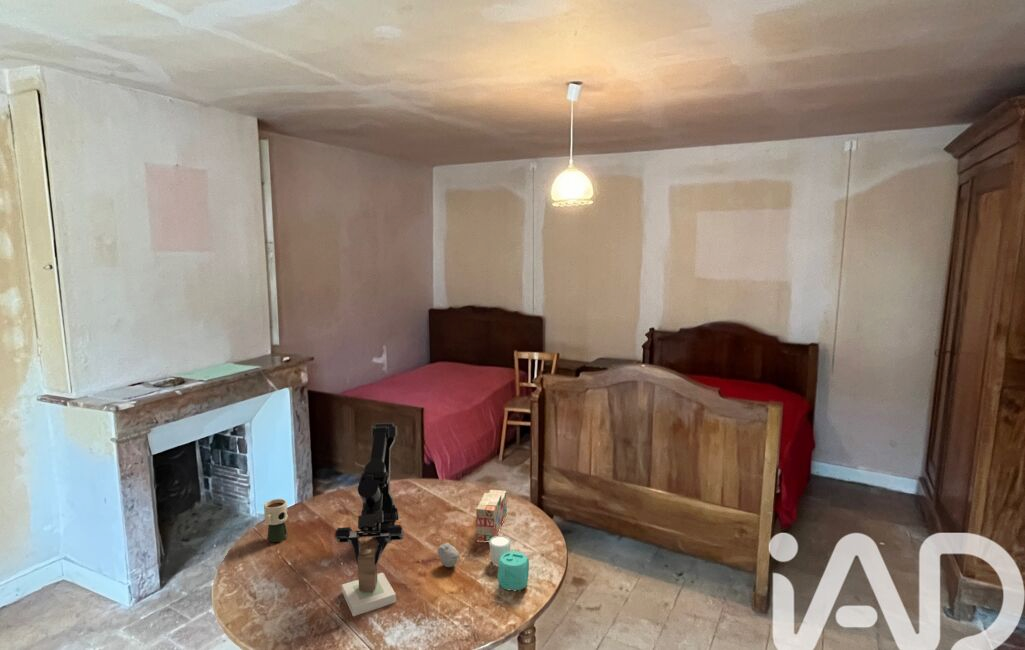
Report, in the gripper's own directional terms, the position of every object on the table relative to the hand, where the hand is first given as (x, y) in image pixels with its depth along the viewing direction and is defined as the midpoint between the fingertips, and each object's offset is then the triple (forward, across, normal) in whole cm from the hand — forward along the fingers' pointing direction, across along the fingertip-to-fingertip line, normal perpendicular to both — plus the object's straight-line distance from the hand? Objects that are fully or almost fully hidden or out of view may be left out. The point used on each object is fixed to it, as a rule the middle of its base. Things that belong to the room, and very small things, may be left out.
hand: (367, 565), depth 156 cm
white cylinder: (-3, +38, +18) cm, 43 cm away
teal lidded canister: (+5, +42, +10) cm, 43 cm away
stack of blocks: (-18, +37, +33) cm, 53 cm away
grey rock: (-2, +22, +17) cm, 28 cm away
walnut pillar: (+4, 0, +5) cm, 7 cm away
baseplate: (+7, 0, +7) cm, 10 cm away
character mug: (-18, -36, +32) cm, 52 cm away
